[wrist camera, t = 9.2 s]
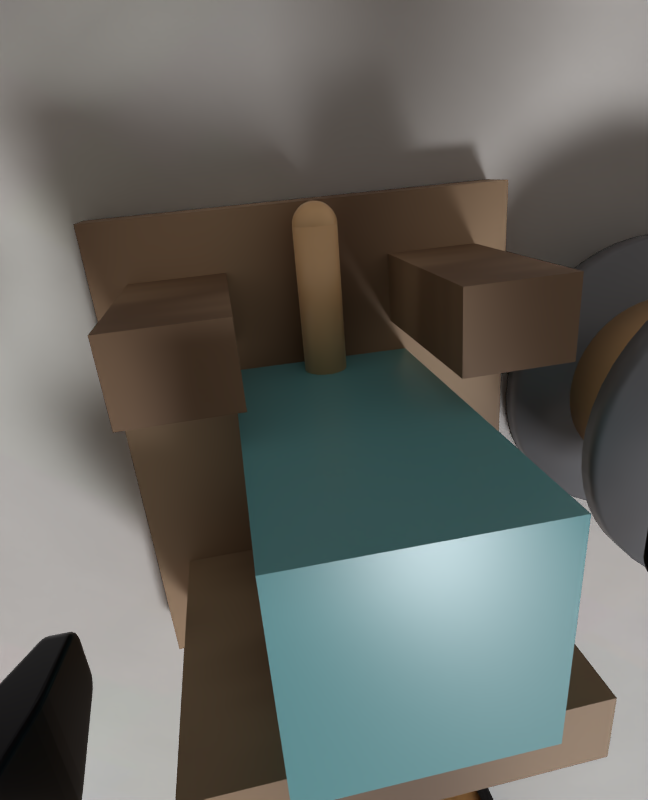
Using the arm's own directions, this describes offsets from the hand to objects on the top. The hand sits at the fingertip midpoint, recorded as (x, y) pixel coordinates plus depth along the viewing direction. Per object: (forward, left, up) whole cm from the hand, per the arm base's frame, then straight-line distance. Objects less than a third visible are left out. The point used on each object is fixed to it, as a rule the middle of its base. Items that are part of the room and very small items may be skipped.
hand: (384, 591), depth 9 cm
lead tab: (0, -2, -5) cm, 6 cm away
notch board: (0, 0, -6) cm, 6 cm away
